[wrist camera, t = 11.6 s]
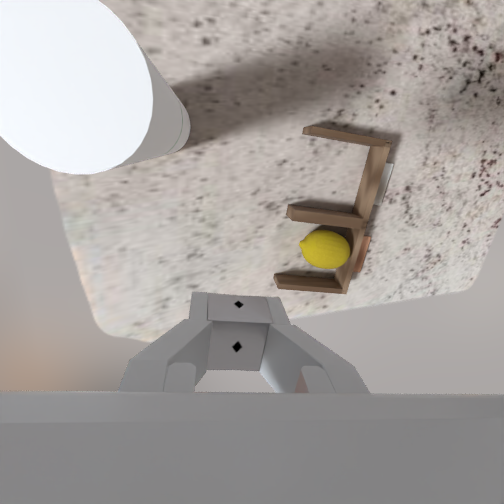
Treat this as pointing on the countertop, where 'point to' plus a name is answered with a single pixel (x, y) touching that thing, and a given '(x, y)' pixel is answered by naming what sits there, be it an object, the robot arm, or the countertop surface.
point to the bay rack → (344, 214)
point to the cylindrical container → (82, 89)
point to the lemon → (325, 249)
